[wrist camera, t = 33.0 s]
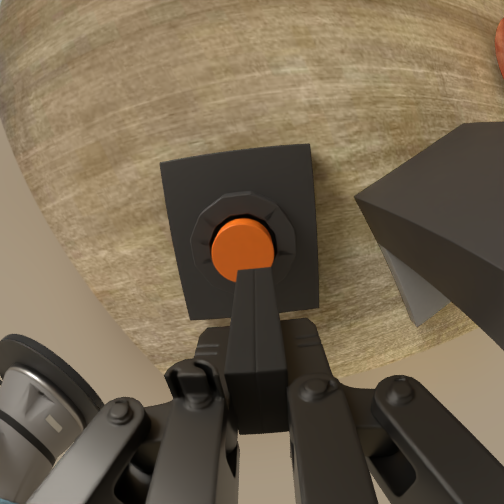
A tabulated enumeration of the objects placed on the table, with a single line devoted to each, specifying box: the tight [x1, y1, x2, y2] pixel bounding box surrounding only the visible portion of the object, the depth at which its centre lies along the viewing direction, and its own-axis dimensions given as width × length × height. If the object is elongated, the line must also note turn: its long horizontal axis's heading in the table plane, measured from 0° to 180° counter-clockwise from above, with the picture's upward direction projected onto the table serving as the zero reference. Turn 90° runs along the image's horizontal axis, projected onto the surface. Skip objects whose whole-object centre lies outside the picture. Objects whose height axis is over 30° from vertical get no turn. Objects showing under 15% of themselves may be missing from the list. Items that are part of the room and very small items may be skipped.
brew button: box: [211, 218, 274, 282], centre depth 17 cm, size 4×4×2 cm
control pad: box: [160, 144, 319, 320], centre depth 19 cm, size 10×12×4 cm
